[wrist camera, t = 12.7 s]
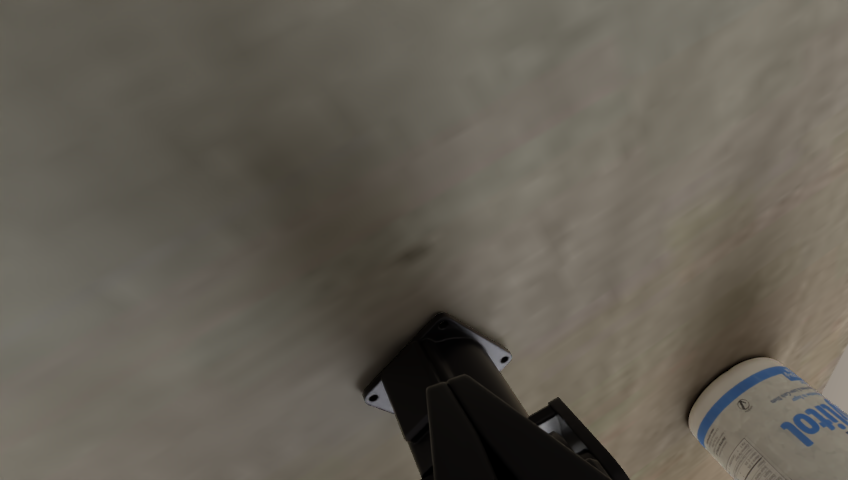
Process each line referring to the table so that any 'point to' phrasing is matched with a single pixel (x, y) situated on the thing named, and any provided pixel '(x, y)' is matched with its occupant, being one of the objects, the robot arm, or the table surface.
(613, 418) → the table surface
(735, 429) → the supplement tub
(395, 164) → the table surface
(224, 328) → the table surface
